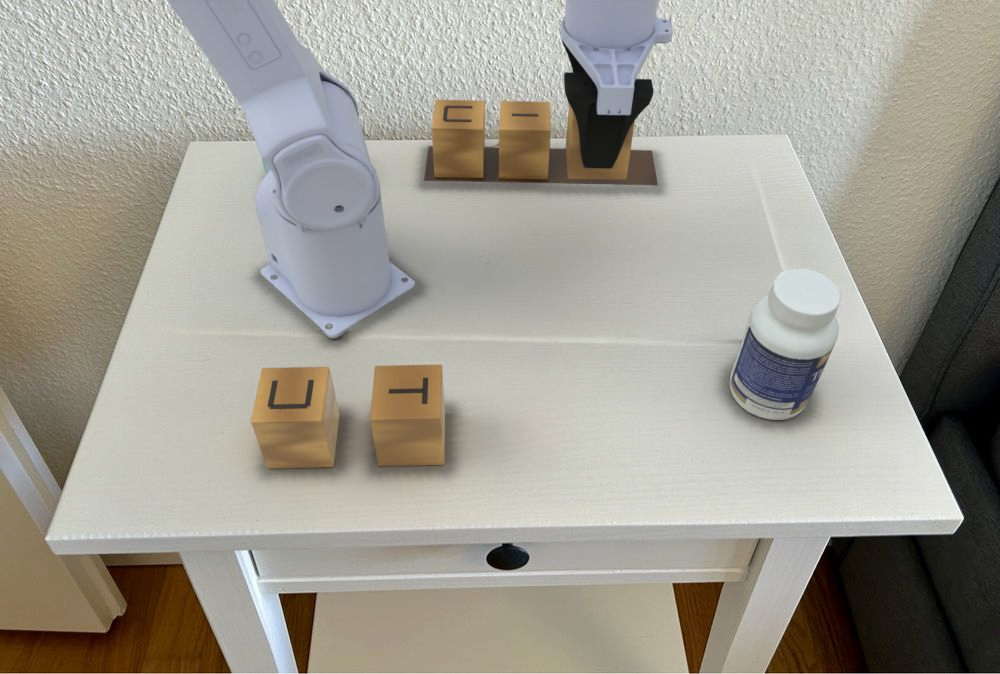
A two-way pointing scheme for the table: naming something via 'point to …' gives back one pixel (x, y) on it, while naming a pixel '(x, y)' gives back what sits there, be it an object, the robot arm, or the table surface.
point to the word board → (557, 170)
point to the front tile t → (408, 415)
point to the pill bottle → (786, 345)
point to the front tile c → (296, 417)
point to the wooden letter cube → (575, 160)
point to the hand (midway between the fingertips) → (596, 145)
